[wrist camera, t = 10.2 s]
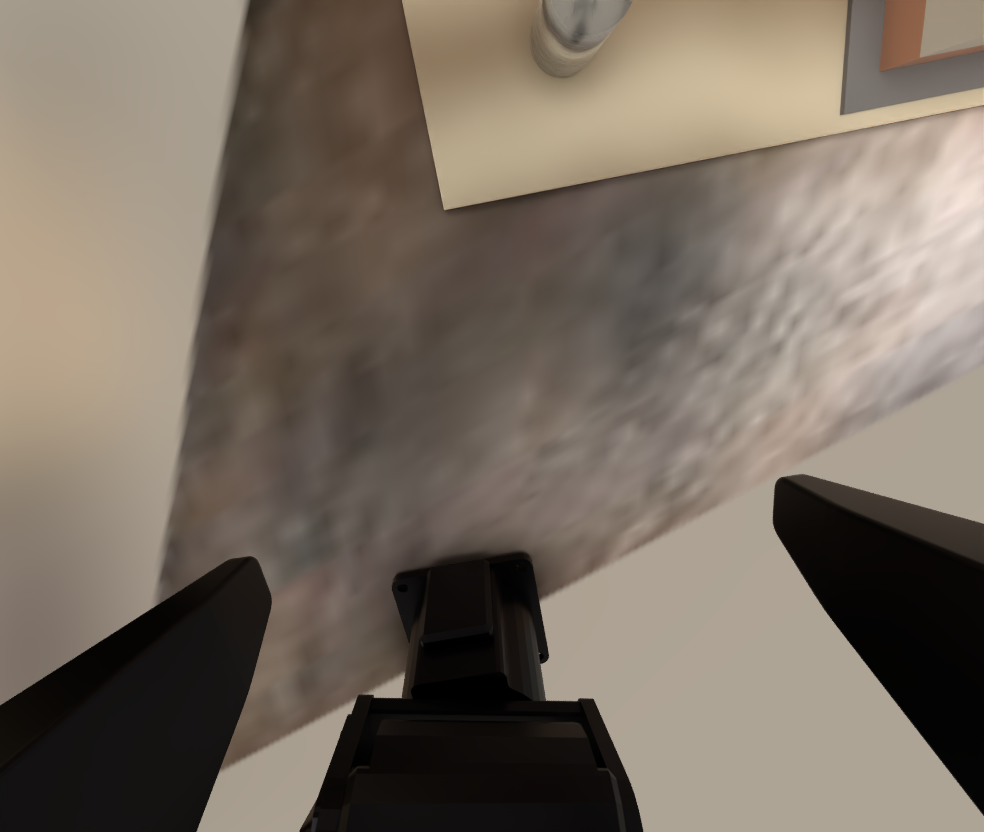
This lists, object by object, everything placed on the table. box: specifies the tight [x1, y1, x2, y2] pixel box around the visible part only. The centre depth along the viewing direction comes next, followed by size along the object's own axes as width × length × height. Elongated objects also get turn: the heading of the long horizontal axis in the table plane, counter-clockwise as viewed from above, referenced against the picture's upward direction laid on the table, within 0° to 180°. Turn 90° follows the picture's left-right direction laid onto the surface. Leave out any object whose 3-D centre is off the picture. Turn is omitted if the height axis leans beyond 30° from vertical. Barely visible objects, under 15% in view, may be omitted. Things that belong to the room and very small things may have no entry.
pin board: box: [402, 0, 984, 210], centre depth 15 cm, size 8×21×1 cm, turn 100°
